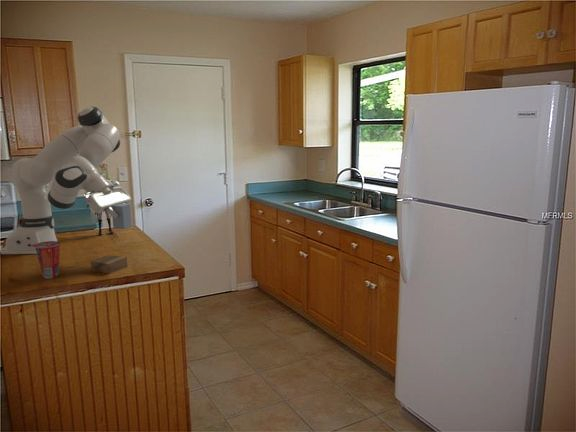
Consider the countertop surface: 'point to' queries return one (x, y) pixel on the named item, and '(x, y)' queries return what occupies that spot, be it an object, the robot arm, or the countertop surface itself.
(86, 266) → the countertop surface
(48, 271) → the cup
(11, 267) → the countertop surface
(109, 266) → the walnut block
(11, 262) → the countertop surface
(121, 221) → the blue block
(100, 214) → the figurine
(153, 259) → the countertop surface
